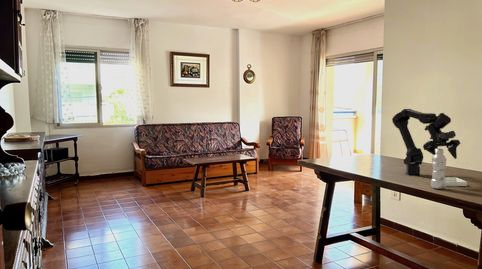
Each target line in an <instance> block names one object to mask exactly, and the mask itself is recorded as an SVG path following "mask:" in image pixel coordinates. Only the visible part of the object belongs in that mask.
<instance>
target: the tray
mask: <svg viewBox="0 0 482 269" xmlns="http://www.w3.org/2000/svg"><path fill="white" fill-rule="evenodd" d="M445 182H446V185H445V187H457V186H458V187H459V186H466V188H467V187H468V182H467V181H466V180H464V179H461V178H459V177H449V176H448V177H446V176H445Z"/></svg>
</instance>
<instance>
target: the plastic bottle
mask: <svg viewBox="0 0 482 269" xmlns="http://www.w3.org/2000/svg"><path fill="white" fill-rule="evenodd" d="M444 153H445V152H444V149H443V148H438V149H435V155H433V156H432V157H431V163H432V174H431V175H432V176H431V180H430V186H431V187H432V189H437V190H442V189H445V188H446V186H445V185H446V182H445V177H446V173H445V172H446V164H447V158H446V156H445V155H444Z"/></svg>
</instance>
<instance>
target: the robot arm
mask: <svg viewBox="0 0 482 269" xmlns="http://www.w3.org/2000/svg"><path fill="white" fill-rule="evenodd" d="M411 118H413V119H416V120H418V121H419V122H420V123H421V124H424V125H425V127H424V131H427V132H428V133H429V135H430V137H429V139H430V140H427V141H426V142H425V143H424V144H423V146H422V148H423V150H424V151H426V152H429V153H430V154H431V155H433V156H434V155H435V149H439V148H438V147H446V149H447V151H448V153H449V154H450V155H451V156H452V158H453V159H454V160H456V159H457V158H458V157H457V155H458V154H457V148H458V147H459V146H460V145H461V142H460V140H459V139H454V138H455V137H456V136H457V134H456V132H455V130H451V131H448V132H445V131H442V130H441V129H444V128H446V127H447V126H448V125H449V124H451V122H452V119H451V117H449V116H448V115H447V114H445V113H444V112H440V113H439V114H438V115H437V114H436V113H435V112H434V113H432V112H430V113H429V112H421V111H418V110H414V109H411V108H403V109H402V110H401V111H400V112H397V113H395V115H394V116H393V117H392V119H391V120H392V123H393V125H394V127H395V128H397V129H398V130H399V134H400V135H401V138H402V141H403V143H404V146H405V148H406V153H405V155H406V157H405V158H404V159H403V164H404V165H406V166H405V168H406V170H405V174H406V175H407V176H421V166H420V165H422V164H423V160H424V153H423V152H422V149H421V148H420V147H419V148H418V147H417V146H416V144H415V141H414V140H413V137H412V134H411V132H410V130H409V126H408V125H409V120H410V119H411ZM450 139H451V140H450Z"/></svg>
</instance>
